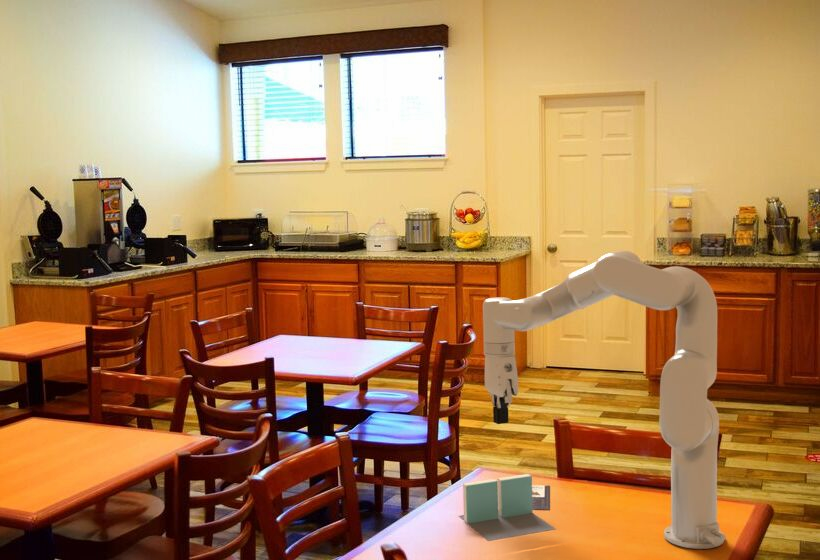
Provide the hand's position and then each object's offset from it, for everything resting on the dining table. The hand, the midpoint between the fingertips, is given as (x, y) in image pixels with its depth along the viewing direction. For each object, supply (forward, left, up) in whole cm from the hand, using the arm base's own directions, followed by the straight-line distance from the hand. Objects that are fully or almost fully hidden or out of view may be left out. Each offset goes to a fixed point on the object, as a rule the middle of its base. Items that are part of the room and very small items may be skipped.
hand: (501, 422), depth 216 cm
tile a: (-7, 0, -21) cm, 22 cm away
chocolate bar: (+2, -9, -22) cm, 24 cm away
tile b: (-7, +9, -21) cm, 24 cm away
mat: (-11, +4, -21) cm, 24 cm away
